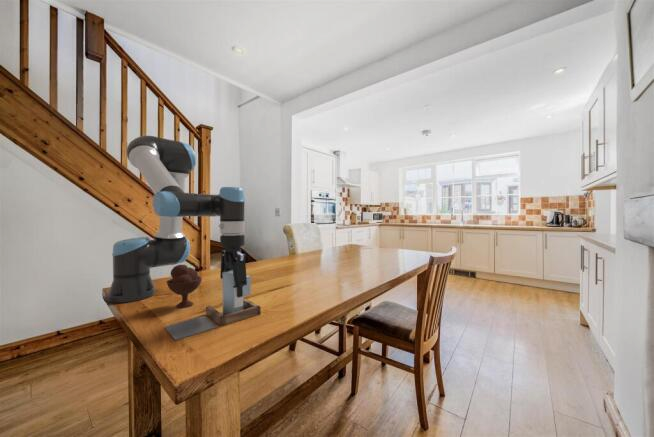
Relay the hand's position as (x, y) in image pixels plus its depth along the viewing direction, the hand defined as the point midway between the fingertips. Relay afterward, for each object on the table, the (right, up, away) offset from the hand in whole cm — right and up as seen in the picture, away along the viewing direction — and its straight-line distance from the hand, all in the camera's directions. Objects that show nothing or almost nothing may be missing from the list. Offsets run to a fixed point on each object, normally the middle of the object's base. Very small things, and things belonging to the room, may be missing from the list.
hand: (233, 303), depth 84 cm
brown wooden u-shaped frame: (0, -3, 0) cm, 3 cm away
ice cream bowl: (-20, -4, +8) cm, 22 cm away
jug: (+1, -3, +1) cm, 4 cm away
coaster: (-9, -4, -10) cm, 13 cm away
